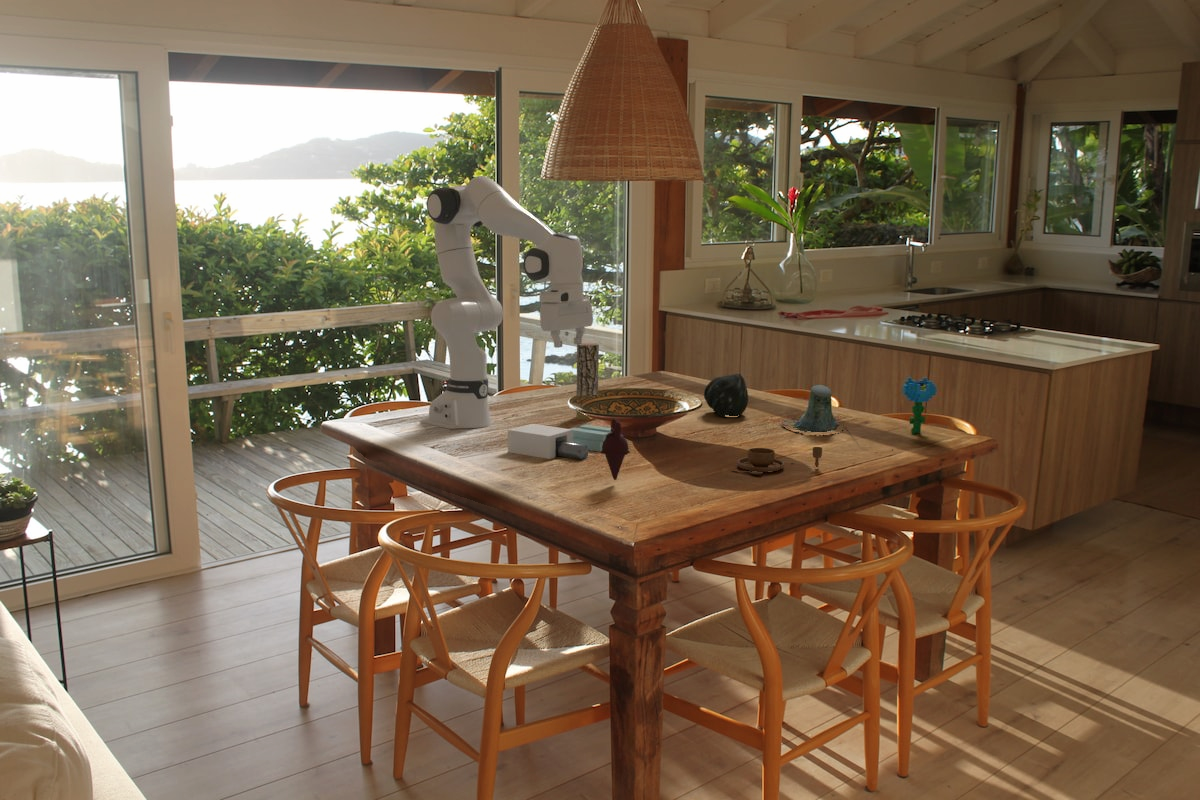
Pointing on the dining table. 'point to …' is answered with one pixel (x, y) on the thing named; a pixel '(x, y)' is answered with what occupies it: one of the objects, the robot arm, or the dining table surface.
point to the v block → (590, 436)
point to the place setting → (768, 460)
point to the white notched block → (537, 440)
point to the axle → (571, 450)
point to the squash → (727, 395)
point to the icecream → (615, 448)
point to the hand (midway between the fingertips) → (568, 345)
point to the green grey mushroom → (817, 412)
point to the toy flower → (918, 399)
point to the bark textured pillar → (587, 371)
